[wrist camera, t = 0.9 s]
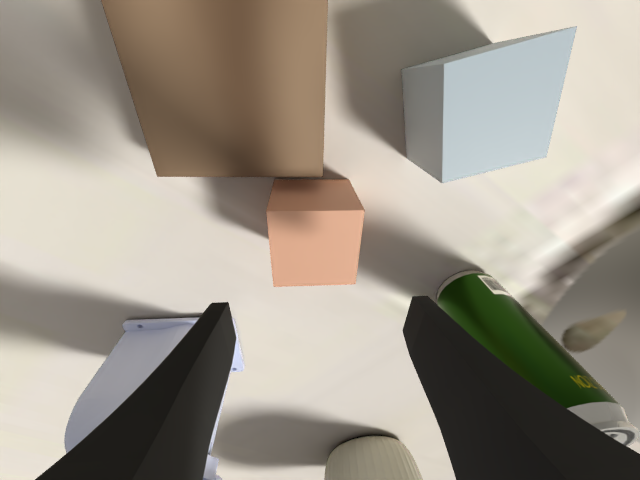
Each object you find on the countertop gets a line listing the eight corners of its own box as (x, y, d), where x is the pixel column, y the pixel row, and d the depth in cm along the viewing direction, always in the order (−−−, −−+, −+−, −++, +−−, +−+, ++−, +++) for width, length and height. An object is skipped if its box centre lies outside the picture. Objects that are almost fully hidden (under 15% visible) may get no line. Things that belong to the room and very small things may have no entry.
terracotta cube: (279, 242, 20) (273, 286, 15) (274, 179, 17) (266, 211, 13) (343, 241, 20) (355, 284, 16) (348, 179, 17) (364, 210, 13)
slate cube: (406, 157, 17) (442, 183, 13) (400, 69, 14) (444, 63, 10) (482, 137, 16) (546, 157, 12) (491, 43, 14) (576, 25, 10)
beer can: (449, 263, 22) (581, 423, 12) (503, 271, 23) (671, 425, 12) (424, 308, 24) (513, 469, 14) (473, 313, 25) (591, 468, 15)
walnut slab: (176, 164, 16) (157, 176, 14) (120, -42, 11) (78, -72, 9) (319, 164, 17) (322, 176, 14) (323, -31, 12) (329, -55, 10)
